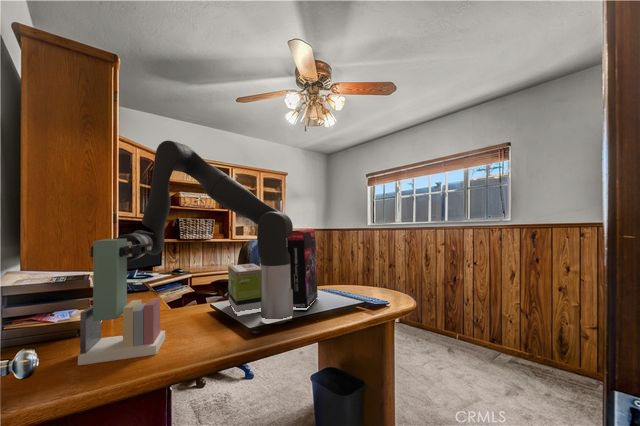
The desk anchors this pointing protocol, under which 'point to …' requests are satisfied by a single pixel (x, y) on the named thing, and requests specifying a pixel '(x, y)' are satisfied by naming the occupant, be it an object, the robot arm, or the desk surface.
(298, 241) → the graphics card box
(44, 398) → the desk surface
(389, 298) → the desk surface
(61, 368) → the desk surface
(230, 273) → the tea box
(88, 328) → the bookend
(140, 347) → the shelf
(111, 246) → the book
